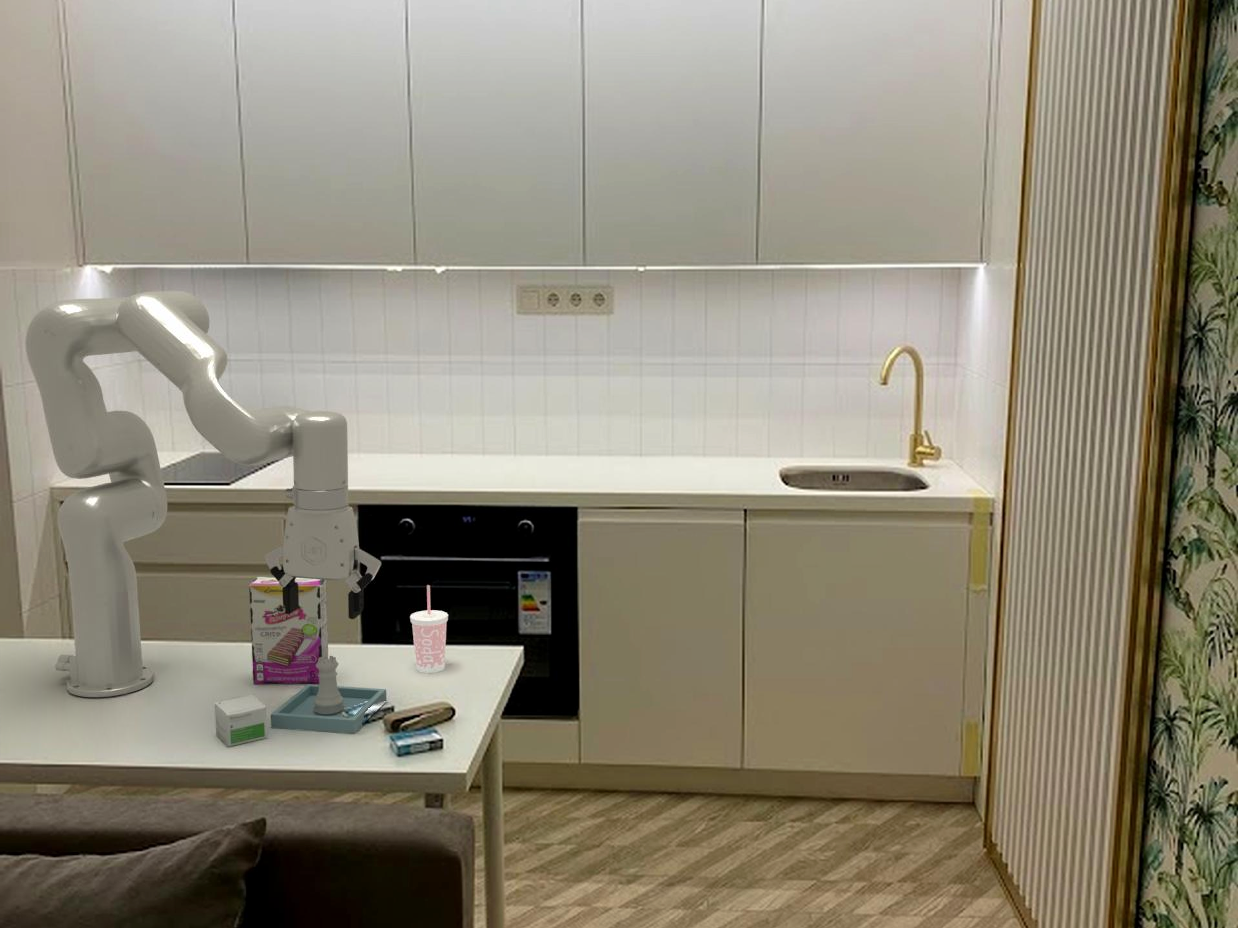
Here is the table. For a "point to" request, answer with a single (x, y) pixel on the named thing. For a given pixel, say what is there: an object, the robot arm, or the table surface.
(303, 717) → the tray
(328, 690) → the rook chess piece
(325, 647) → the candy bar box
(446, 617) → the beverage cup
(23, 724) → the table surface
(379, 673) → the table surface
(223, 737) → the small box
